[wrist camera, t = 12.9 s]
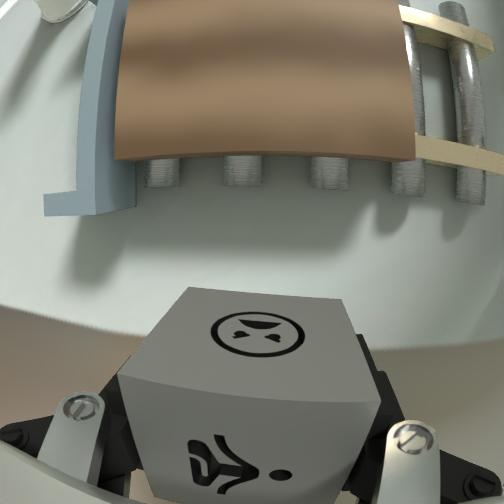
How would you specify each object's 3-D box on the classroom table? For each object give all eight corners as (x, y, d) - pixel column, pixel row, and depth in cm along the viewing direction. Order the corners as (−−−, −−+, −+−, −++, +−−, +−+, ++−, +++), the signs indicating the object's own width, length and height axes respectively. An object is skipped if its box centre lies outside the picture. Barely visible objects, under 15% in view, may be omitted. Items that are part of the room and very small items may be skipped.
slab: (148, -1, 17) (133, -18, 14) (380, -7, 15) (390, -27, 12) (135, 161, 20) (114, 159, 17) (397, 162, 18) (415, 160, 15)
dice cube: (188, 286, 10) (116, 373, 5) (341, 299, 10) (381, 401, 5) (193, 400, 11) (154, 496, 6) (317, 412, 11) (325, 517, 6)
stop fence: (108, 1, 19) (77, -25, 14) (153, -12, 19) (127, -44, 13) (88, 207, 24) (44, 216, 18) (135, 206, 24) (95, 214, 18)
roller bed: (151, 0, 19) (138, -15, 16) (470, 24, 16) (484, 13, 14) (135, 186, 23) (117, 188, 20) (485, 205, 21) (505, 208, 18)
